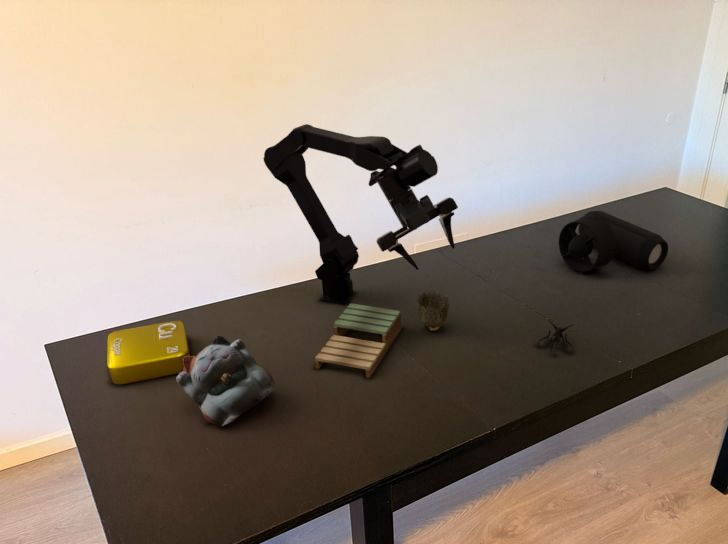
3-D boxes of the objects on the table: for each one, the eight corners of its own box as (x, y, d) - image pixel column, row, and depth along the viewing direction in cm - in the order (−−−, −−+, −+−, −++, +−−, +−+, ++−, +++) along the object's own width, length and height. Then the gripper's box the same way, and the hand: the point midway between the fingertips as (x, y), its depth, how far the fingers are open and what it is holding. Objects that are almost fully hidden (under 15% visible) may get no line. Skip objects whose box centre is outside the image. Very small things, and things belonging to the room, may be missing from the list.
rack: (315, 368, 135) (313, 348, 133) (352, 321, 152) (350, 302, 149) (369, 378, 133) (368, 357, 130) (401, 329, 149) (400, 310, 146)
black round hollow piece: (551, 216, 170) (576, 207, 176) (546, 266, 178) (570, 256, 184) (595, 233, 161) (620, 223, 167) (587, 285, 169) (611, 274, 175)
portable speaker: (666, 268, 179) (673, 234, 173) (642, 277, 174) (649, 242, 169) (597, 236, 196) (602, 205, 191) (574, 244, 191) (578, 211, 186)
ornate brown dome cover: (445, 340, 146) (446, 308, 141) (413, 335, 147) (413, 304, 142) (452, 323, 152) (452, 293, 147) (421, 319, 153) (421, 289, 149)
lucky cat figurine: (207, 437, 116) (165, 371, 112) (205, 421, 128) (166, 360, 123) (283, 394, 120) (244, 329, 116) (274, 382, 131) (239, 322, 127)
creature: (569, 362, 141) (577, 337, 146) (571, 344, 137) (579, 319, 143) (534, 355, 143) (542, 330, 149) (535, 337, 140) (544, 313, 145)
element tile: (112, 348, 140) (106, 329, 137) (186, 335, 145) (182, 316, 142) (112, 387, 129) (105, 367, 126) (192, 371, 134) (187, 351, 131)
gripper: (363, 217, 131) (403, 284, 135) (443, 170, 132) (480, 238, 136) (361, 217, 141) (397, 279, 146) (435, 174, 142) (469, 237, 146)
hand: (435, 258), depth 143 cm, fingers open, 9 cm apart
